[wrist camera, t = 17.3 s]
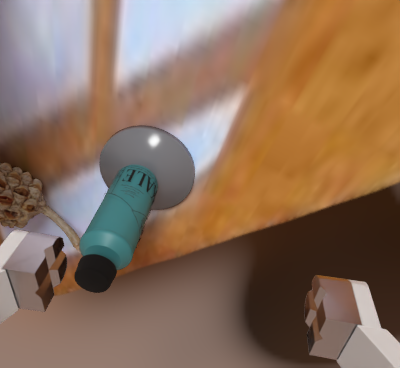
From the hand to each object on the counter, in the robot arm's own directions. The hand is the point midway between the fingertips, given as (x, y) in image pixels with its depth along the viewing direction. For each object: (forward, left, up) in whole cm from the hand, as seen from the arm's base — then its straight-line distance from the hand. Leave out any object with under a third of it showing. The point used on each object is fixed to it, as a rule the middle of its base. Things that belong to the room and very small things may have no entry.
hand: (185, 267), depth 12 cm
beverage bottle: (-11, -23, -36) cm, 44 cm away
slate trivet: (-10, -22, -37) cm, 44 cm away
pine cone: (-28, -29, -37) cm, 55 cm away
